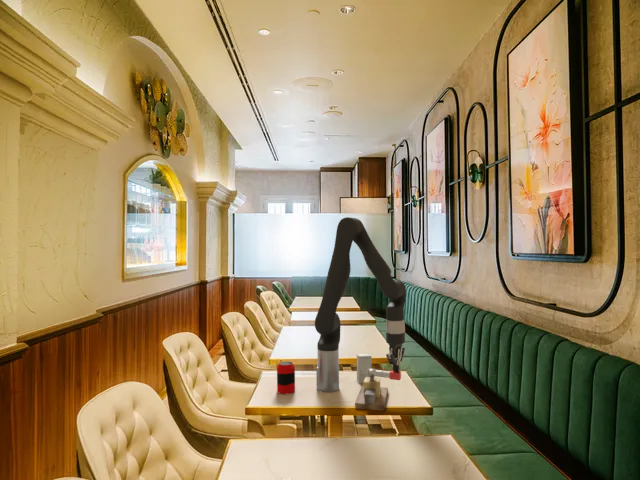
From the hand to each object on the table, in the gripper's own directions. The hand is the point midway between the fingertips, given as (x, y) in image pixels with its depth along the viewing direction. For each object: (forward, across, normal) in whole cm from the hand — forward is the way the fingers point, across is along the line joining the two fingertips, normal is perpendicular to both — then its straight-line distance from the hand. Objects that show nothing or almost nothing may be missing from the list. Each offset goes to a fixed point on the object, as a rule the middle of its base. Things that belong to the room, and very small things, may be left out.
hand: (396, 373), depth 166 cm
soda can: (+10, +17, -44) cm, 48 cm away
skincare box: (+11, -12, -22) cm, 27 cm away
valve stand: (+10, +5, -8) cm, 14 cm away
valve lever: (+1, +4, -3) cm, 5 cm away
